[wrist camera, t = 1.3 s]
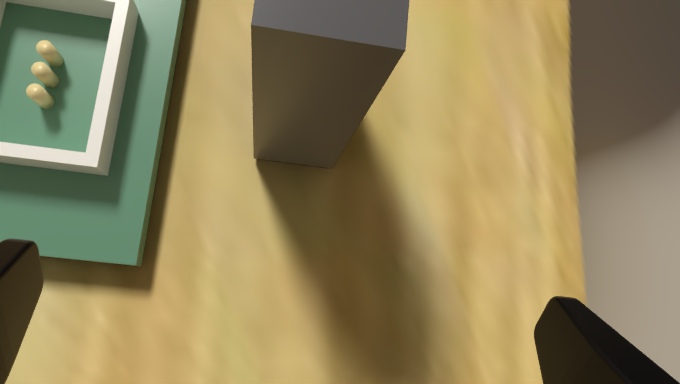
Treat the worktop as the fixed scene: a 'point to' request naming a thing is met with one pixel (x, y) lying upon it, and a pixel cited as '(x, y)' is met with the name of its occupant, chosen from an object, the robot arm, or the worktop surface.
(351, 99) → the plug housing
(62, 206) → the board
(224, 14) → the worktop surface
